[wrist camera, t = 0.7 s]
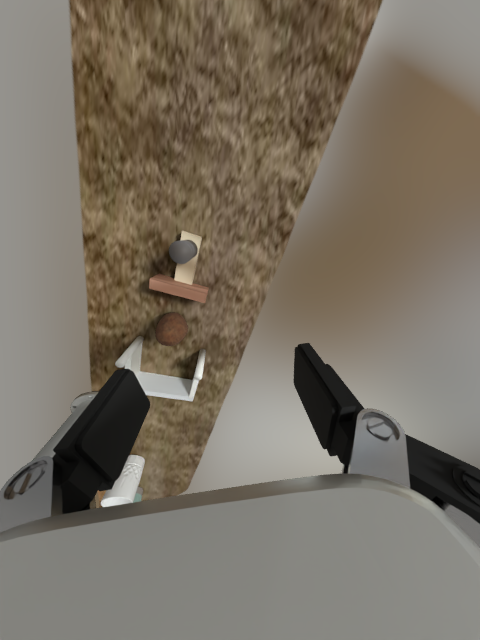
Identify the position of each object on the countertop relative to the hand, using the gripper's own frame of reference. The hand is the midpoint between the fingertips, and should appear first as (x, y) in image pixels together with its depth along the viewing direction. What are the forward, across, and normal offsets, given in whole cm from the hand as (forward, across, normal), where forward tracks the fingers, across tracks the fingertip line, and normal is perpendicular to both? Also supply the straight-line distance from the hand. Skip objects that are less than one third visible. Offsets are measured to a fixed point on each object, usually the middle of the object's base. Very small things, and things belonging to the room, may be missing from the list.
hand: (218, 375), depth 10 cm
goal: (+24, +15, +17) cm, 33 cm away
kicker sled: (+24, +6, -3) cm, 25 cm away
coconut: (+25, +11, +7) cm, 28 cm away
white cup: (+24, +38, +54) cm, 70 cm away
